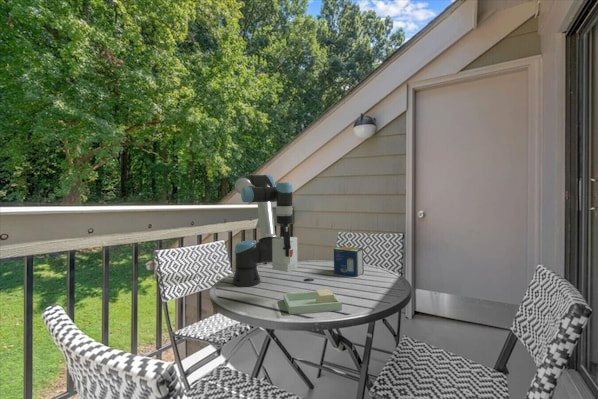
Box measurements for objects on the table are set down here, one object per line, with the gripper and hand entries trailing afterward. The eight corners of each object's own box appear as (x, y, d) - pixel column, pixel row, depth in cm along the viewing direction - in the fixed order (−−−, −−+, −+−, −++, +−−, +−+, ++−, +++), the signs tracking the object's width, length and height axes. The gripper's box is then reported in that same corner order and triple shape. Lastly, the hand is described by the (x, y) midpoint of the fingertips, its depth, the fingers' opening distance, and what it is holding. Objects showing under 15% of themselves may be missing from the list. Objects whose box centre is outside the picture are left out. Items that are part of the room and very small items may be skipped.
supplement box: (287, 272, 143) (287, 240, 142) (271, 269, 147) (271, 238, 147) (298, 268, 150) (297, 237, 150) (282, 265, 155) (282, 235, 154)
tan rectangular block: (315, 301, 140) (315, 290, 140) (328, 300, 141) (328, 289, 141) (320, 307, 132) (320, 295, 132) (334, 306, 133) (333, 294, 133)
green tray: (283, 302, 142) (283, 293, 142) (330, 298, 146) (330, 290, 146) (289, 316, 125) (289, 306, 125) (341, 312, 129) (341, 302, 129)
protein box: (341, 270, 200) (341, 246, 200) (363, 273, 191) (363, 248, 191) (333, 273, 192) (333, 248, 192) (356, 277, 183) (356, 250, 183)
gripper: (296, 217, 137) (297, 265, 137) (288, 212, 161) (288, 254, 161) (279, 217, 135) (280, 266, 136) (273, 213, 159) (274, 255, 160)
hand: (285, 260), depth 149 cm, fingers closed on supplement box, 12 cm apart
